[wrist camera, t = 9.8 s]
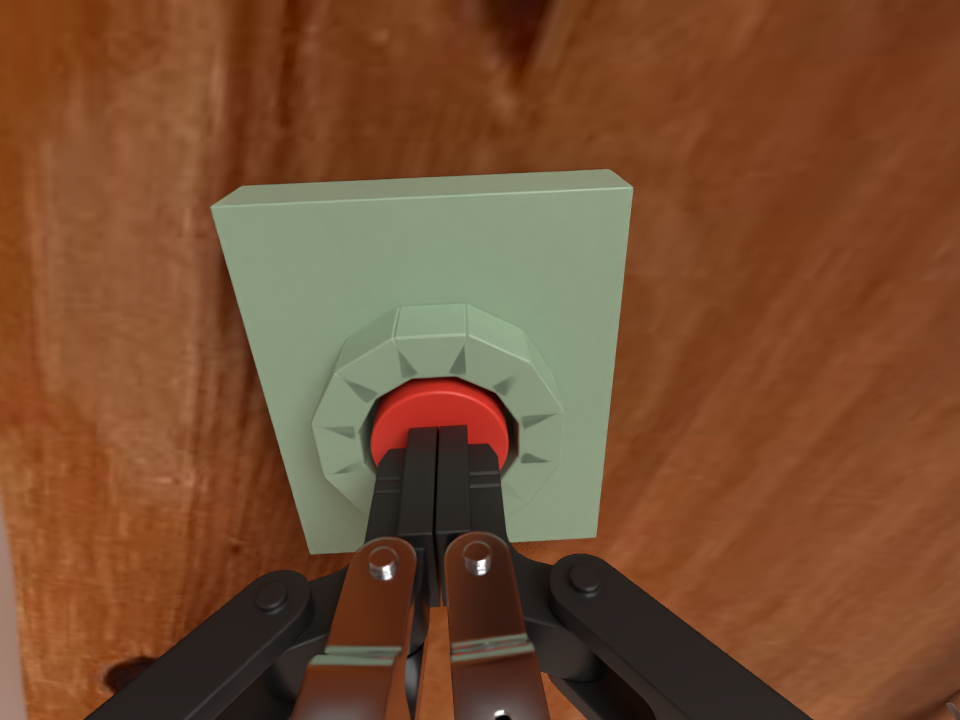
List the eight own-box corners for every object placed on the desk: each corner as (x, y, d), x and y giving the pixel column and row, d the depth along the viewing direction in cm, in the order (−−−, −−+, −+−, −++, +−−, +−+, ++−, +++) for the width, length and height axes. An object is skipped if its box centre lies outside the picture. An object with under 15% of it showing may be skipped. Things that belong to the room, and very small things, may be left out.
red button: (370, 359, 14) (360, 395, 13) (502, 352, 14) (508, 387, 13) (386, 461, 16) (379, 504, 15) (504, 455, 16) (509, 496, 15)
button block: (240, 185, 14) (173, 228, 11) (610, 168, 15) (660, 205, 11) (322, 508, 20) (296, 601, 17) (583, 493, 21) (609, 582, 17)
